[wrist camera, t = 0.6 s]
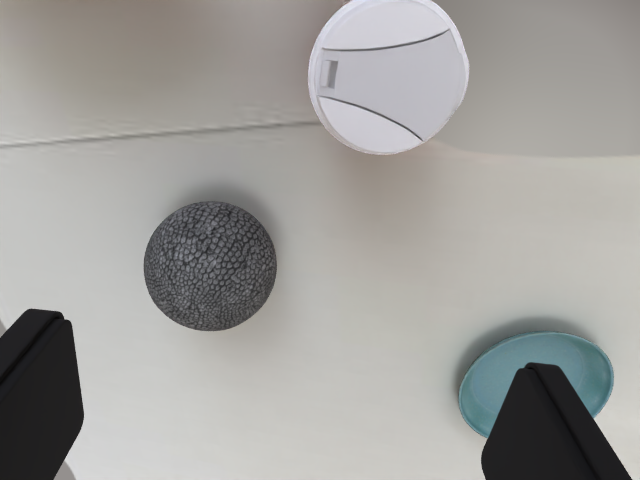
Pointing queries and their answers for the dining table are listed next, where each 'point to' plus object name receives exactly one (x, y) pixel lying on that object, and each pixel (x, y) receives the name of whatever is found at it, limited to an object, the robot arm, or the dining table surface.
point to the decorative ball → (210, 266)
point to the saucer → (515, 352)
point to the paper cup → (387, 74)
